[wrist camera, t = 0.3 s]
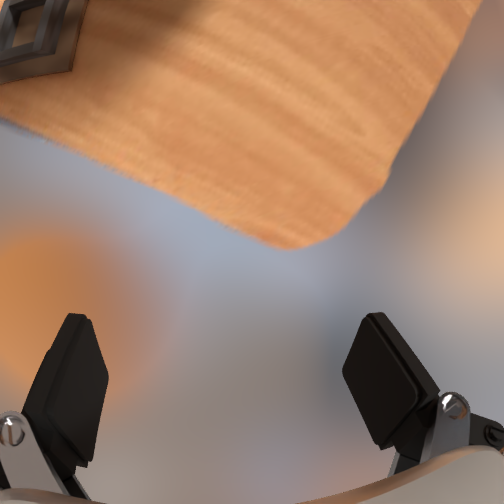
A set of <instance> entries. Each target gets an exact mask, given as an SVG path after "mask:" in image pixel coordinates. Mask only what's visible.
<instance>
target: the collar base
mask: <svg viewBox="0 0 504 504" xmlns="http://www.w3.org/2000/svg"><path fill="white" fill-rule="evenodd" d="M87 4H88V0H5V1H4V3H3V6H2V9H1V12H0V85H1V84H5V83H9V82H13V81H17V80H22V79H26V78H31V77H36V76H42V75H48V74H54V73H61V72H68V71H72V65H73V60H74V55H75V50H76V45H77V41H78V36H79V32H80V28H81V24H82V21H83V17H84V14H85V10H86V7H87Z"/></svg>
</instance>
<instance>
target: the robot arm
mask: <svg viewBox="0 0 504 504" xmlns="http://www.w3.org/2000/svg"><path fill="white" fill-rule="evenodd" d="M342 373H343V377H344V379H345V381H346V383H347V385H348V388H349V390H350V392H351V394H352V396H353V398H354V400H355V402H356V404H357V407H358V409H359V411H360V413H361V415H362V417H363V419H364V421H365V424H366V426H367V428H368V430H369V433H370V435H371V437H372V439H373V441H374V443H375V444H376V445H379V447H380V450H384V449H387V448H390V447H392V446H393V445H394V446H395V449H396V452H395V456H394V459H393V462H392V465H391V468H390V471H389V474H388V477H387V478H385V479H383V480H380V481H377V482H374V483H372V484H368V485H366V486H363V487H360V488H356V489H353V490H350V491H347V492H343V493H340V494H336V495H332V496H328V497H324V498H321V499H316V500H311V501H307V502H302V503H297V504H504V428H503V426H502V425H501V424H499V423H498V422H496V421H493V420H490V419H487V418H484V417H481V416H478V415H476V414H473V413H470V406H469V404H468V402H467V400H466V399H465V398H464V397H463V396H462V395H460V394H458V393H456V392H446V393H444V394H442V395H441V396H440V397H439V395H438V393H439V392H440V389H439V388H438V386H437V385H436V383H435V382H434V380H433V379H432V377H431V376H430V375H429V373H428V372H427V370H426V369H425V367H424V366H423V365H422V363H421V362H420V360H419V359H418V358H417V356H416V355H415V354H414V352H413V351H412V349H411V348H410V347H409V345H408V344H407V343H406V341H405V340H404V339H403V337H402V336H401V335H400V333H399V332H398V331H397V329H396V328H395V327H394V325H393V324H392V323H391V321H390V320H389V319H388V318H387V316H386V315H385V314H384V313H382V312H378V313H369V314H367V315H366V317H365V318H364V319H363V320H362V321H361V324H360V327H359V329H358V332H357V334H356V337H355V339H354V342H353V344H352V347H351V349H350V352H349V354H348V356H347V359H346V361H345V363H344V365H343V368H342ZM108 379H109V376H108V371H107V368H106V365H105V363H104V360H103V357H102V354H101V351H100V348H99V345H98V342H97V338H96V335H95V332H94V329H93V325H92V322H91V320H90V319H87V317H86V316H85V315H84V314H75V313H74V314H73V313H69V314H68V315H67V317H66V318H65V320H64V322H63V324H62V326H61V328H60V330H59V332H58V334H57V336H56V338H55V340H54V342H53V344H52V346H51V348H50V350H48V351H47V353H46V355H45V357H44V359H43V361H42V363H41V365H40V368H39V370H38V372H37V374H36V377H35V379H34V381H33V384H32V386H31V389H30V391H29V394H28V396H27V399H26V402H25V404H24V406H23V409H22V412H21V413H18V412H16V411H8V412H4V413H2V414H1V415H0V504H105V503H100V502H95V501H92V500H91V499H90V497H89V496H88V494H87V493H86V492H85V490H84V489H83V487H82V485H81V484H80V482H79V481H78V479H77V478H76V476H75V470H76V466H80V467H85V468H87V466H88V461H90V462H91V461H92V459H93V455H94V449H95V443H96V437H97V431H98V426H99V422H100V416H101V412H102V407H103V403H104V398H105V394H106V389H107V385H108Z"/></svg>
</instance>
